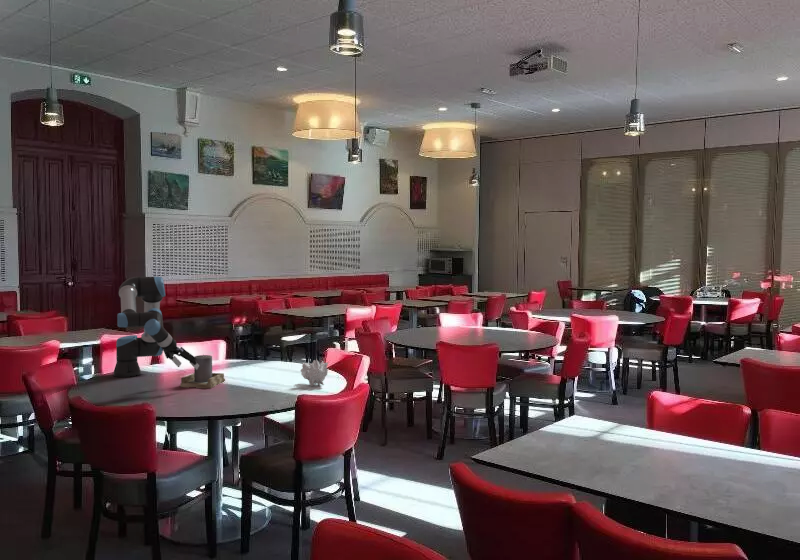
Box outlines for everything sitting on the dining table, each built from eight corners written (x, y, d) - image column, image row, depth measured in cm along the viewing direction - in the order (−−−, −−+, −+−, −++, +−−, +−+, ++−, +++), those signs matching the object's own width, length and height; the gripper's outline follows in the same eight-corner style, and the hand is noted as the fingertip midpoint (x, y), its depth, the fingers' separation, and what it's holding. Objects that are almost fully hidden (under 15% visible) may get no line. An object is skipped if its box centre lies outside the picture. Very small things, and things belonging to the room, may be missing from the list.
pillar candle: (195, 379, 376) (194, 353, 375) (213, 378, 378) (212, 352, 377) (193, 382, 367) (193, 356, 366) (211, 382, 369) (211, 355, 368)
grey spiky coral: (338, 362, 373) (318, 348, 367) (327, 389, 364) (306, 375, 357) (318, 367, 388) (298, 354, 381) (306, 393, 378) (286, 380, 372)
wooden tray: (195, 380, 383) (195, 372, 383) (225, 381, 380) (225, 373, 380) (180, 387, 365) (180, 378, 365) (211, 388, 362) (211, 379, 362)
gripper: (146, 346, 353) (168, 369, 367) (179, 349, 341) (201, 374, 355) (154, 335, 358) (176, 358, 371) (187, 338, 345) (208, 362, 359)
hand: (188, 366), depth 363 cm, fingers open, 13 cm apart
